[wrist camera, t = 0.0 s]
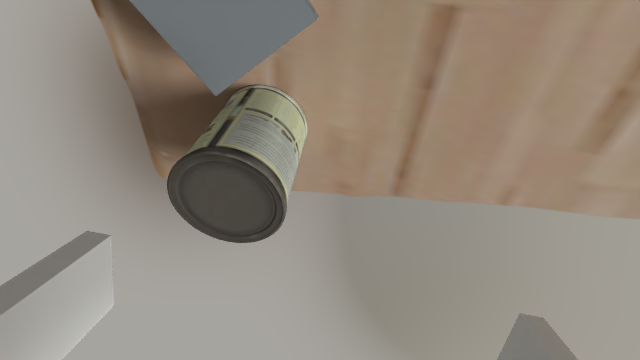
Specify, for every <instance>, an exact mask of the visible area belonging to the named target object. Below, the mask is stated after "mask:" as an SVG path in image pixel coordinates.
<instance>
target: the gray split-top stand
mask: <svg viewBox="0 0 640 360" xmlns="http://www.w3.org/2000/svg"><path fill="white" fill-rule="evenodd" d="M129 1H130V2H131V3H132V4H133V5H134V6H135V7H136V8H137V10H138V11H139V12H140V13H141V14H142V15H143V16H144V17H145V18H146V20H147V21H148V22H149V23H150V24H151V25H152V26H153V27H154V28H155V30H156V31H157V32H158V33H159V34H160V35H161V36H162V37H163V39H164V40H165V41H166V42H167V43H168V44H169V45H170V46H171V47H172V49H173V50H174V51H175V52H176V53H177V54H178V55H179V56H180V57H181V59H182V60H183V61H184V62H185V63H186V64H187V65H188V66H189V67H190V69H191V70H192V71H193V72H194V73H195V74H196V75H197V76H198V77H199V79H200V80H201V81H202V82H203V83H204V84H205V85H206V86H207V87H208V89H209V90H210V91H211V92H212V93H213V94H214V95H215V96H217V95H218V94H220V93H221V92H222V91H224V90H225V89H226V88H228V87H229V86H230V85H231V84H233V83H234V82H235V81H237V80H238V79H239V78H241V77H242V76H243V75H244V74H246V73H247V72H248V71H250V70H251V69H252V68H254V67H255V66H256V65H258V64H259V63H260V62H261V61H263V60H264V59H265V58H267V57H268V56H269V55H271V54H272V53H273V52H275V51H276V50H277V49H278V48H280V47H281V46H282V45H284V44H285V43H286V42H288V41H289V40H290V39H292V38H293V37H294V36H295V35H297V34H298V33H299V32H301V31H302V30H303V29H305V28H306V27H307V26H309V25H310V24H311V23H312V22H314V21H315V20H316V19H317V18H318V14H317V13H316V11H315V10H314V8H313V6H312V5H311V3H310V2H309V0H129Z"/></svg>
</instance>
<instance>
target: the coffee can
mask: <svg viewBox="0 0 640 360" xmlns="http://www.w3.org/2000/svg"><path fill="white" fill-rule="evenodd" d="M306 137H307V122H306V119H305V116H304V113H303V111H302V109H301V108H300V107H299V105H298V104H297V103H296V101H295V100H293V99H292V98H291V97H290V96H289V95H287V94H286V93H284V92H283V91H280V90H278V89H277V88H273V87H269V86H264V85H253V86H248V87H245V88H242V89H241V90H239V91H237V92H236V93H235V94H233V95H232V97H231V98H230V99H229V100H228V102H227V104H226V105H225V106H224V108H223V109H222V110H221V111H220V113H219V114H218V115H217V116H216V118H215V119H214V120H213V121H212V123H211V124H210V125H209V126H208V128H207V129H206V130H205V131H204V132H203V134H202V135H201V136H200V137H199V138H198V140H197V141H196V142H195V144H194V145H193V146H192V147H191V149H190V150H189V151H188V152H187V154H186V155H185V156H184V157H182V158H181V159H180V160H179V161H178V162H177V163H176V164H175V165H174V166H173V168H172V169H171V171H170V173H169V176H168V180H167V189H168V194H169V198H170V200H171V203H172V204H173V206H174V207H175V209H176V210H177V212H178V213H179V214H180V215H181V216H182V217H183V218H184V219H185V220H186V221H187V222H188V223H189V224H190V225H192V226H193V227H194V228H196V229H198V230H199V231H201V232H203V233H205V234H207V235H209V236H212V237H214V238H217V239H220V240H224V241H229V242H235V243H248V242H256V241H259V240H263V239H265V238H267V237H269V236H271V235H272V234H274V233H275V232H276V231H277V230H278V229H279V228H280V227H281V225H282V223H283V221H284V219H285V215H286V210H287V203H288V199H289V196H290V192H291V188H292V185H293V181H294V178H295V174H296V170H297V167H298V163H299V159H300V156H301V152H302V149H303V145H304V143H305V140H306Z"/></svg>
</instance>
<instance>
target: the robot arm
mask: <svg viewBox="0 0 640 360" xmlns="http://www.w3.org/2000/svg"><path fill="white" fill-rule="evenodd" d="M113 306H114V297H113V271H112V247H111V235H106V234H101V233H95V232H90V231H86V232H85V233H83V234H81V235H80V236H78V237H77V238H75V239H74V240H72V241H70V242H69V243H67V244H66V245H64V246H62V247H61V248H59V249H58V250H56V251H55V252H53V253H52V254H50V255H48V256H47V257H45V258H44V259H42V260H40V261H39V262H37V263H36V264H34V265H33V266H31V267H29V268H28V269H26V270H25V271H23V272H22V273H20V274H18V275H17V276H15V277H14V278H12V279H11V280H9V281H7V282H6V283H4V284H3V285H1V286H0V360H62V359H63V358H64V357H65V356H66V355H67V354H68V353H69V352H70V351H71V350H72V349H73V348H74V347H75V346H76V344H77V343H78V342H79V341H80V340H81V339H82V338H83V337H84V336H85V335H86V334H87V333H88V332H89V331H90V330H91V329H92V328H93V327H94V326H95V324H97V322H98V321H99V320H100V319H101V318H102V317H103V316H104V315H105V314H106V313H107V312H108V311H109V310H110V309H111V308H112V307H113ZM497 360H578V359H577V358H576V357H575V355H574V354H573V353H572V352H571V351H570V349H569V348H568V347H567V346H566V345H565V343H564V342H563V341H562V340H561V339H560V337H559V336H558V335H557V334H556V333H555V331H554V330H553V329H552V328H551V327H550V325H549V324H548V323H547V322H546V320H545V319H544V318H542V317H536V316H531V315H525V314H521V313H520V314H519V316H518V318H517V320H516V322H515V324H514V326H513V328H512V330H511V332H510V334H509V336H508V338H507V340H506V343H505V345H504V347H503V349H502V351H501V353H500V355H499V357H498V359H497Z"/></svg>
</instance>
